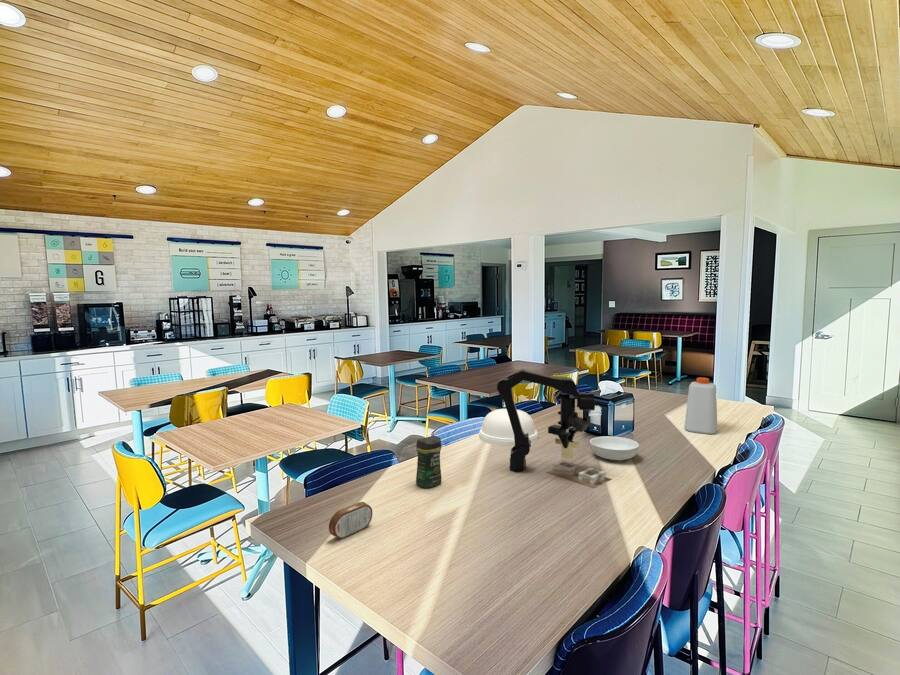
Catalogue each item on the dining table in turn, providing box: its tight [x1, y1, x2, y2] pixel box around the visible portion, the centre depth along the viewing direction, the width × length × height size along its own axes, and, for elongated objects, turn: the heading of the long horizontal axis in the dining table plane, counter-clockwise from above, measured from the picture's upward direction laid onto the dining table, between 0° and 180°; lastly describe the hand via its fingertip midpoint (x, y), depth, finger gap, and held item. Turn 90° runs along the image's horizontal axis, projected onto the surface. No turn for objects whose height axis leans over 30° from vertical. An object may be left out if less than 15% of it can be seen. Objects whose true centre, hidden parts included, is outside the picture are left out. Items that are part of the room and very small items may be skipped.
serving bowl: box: [589, 435, 640, 461], centre depth 217 cm, size 21×21×7 cm
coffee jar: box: [415, 435, 442, 489], centre depth 187 cm, size 10×8×19 cm
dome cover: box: [478, 408, 539, 447], centre depth 248 cm, size 32×30×14 cm
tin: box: [328, 501, 373, 539], centre depth 150 cm, size 15×3×8 cm, turn 138°
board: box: [545, 459, 613, 489], centre depth 193 cm, size 13×22×4 cm, turn 43°
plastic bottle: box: [683, 376, 718, 435], centre depth 258 cm, size 15×15×28 cm
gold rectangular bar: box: [554, 436, 581, 460], centre depth 196 cm, size 2×10×7 cm, turn 42°
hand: (567, 447), depth 196 cm, fingers closed on gold rectangular bar, 2 cm apart
